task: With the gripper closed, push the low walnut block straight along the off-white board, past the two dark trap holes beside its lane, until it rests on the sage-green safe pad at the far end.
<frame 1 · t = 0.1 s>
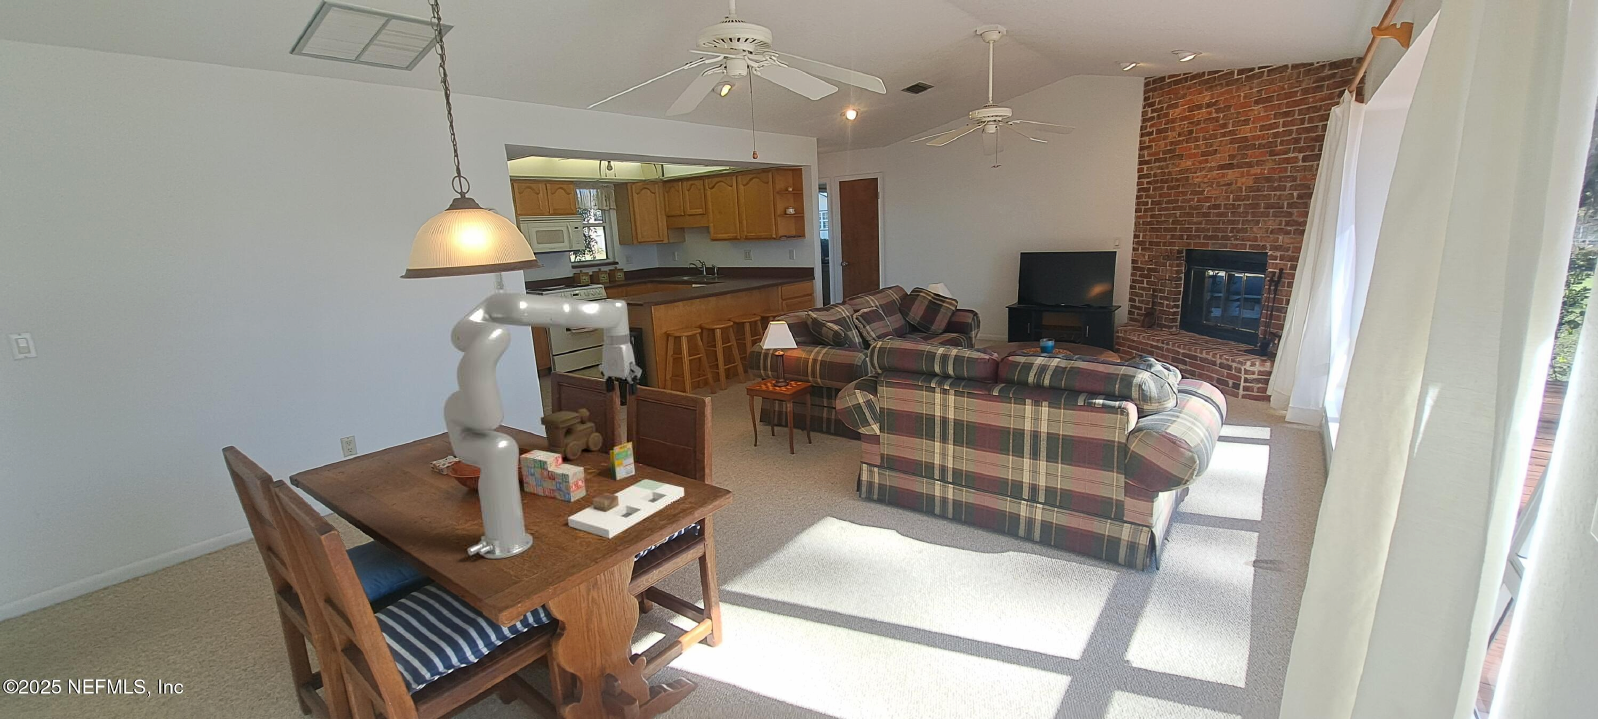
hand: (621, 393, 197), 31 cm above the table, tool pointing down, fingers open, 9 cm apart
stack of blocks: (555, 493, 200), on the table
crayon box: (623, 476, 212), on the table
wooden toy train: (575, 454, 235), on the table
trap board: (629, 509, 186), on the table
walnut block: (606, 507, 182), point 2 cm above the table, touching trap board
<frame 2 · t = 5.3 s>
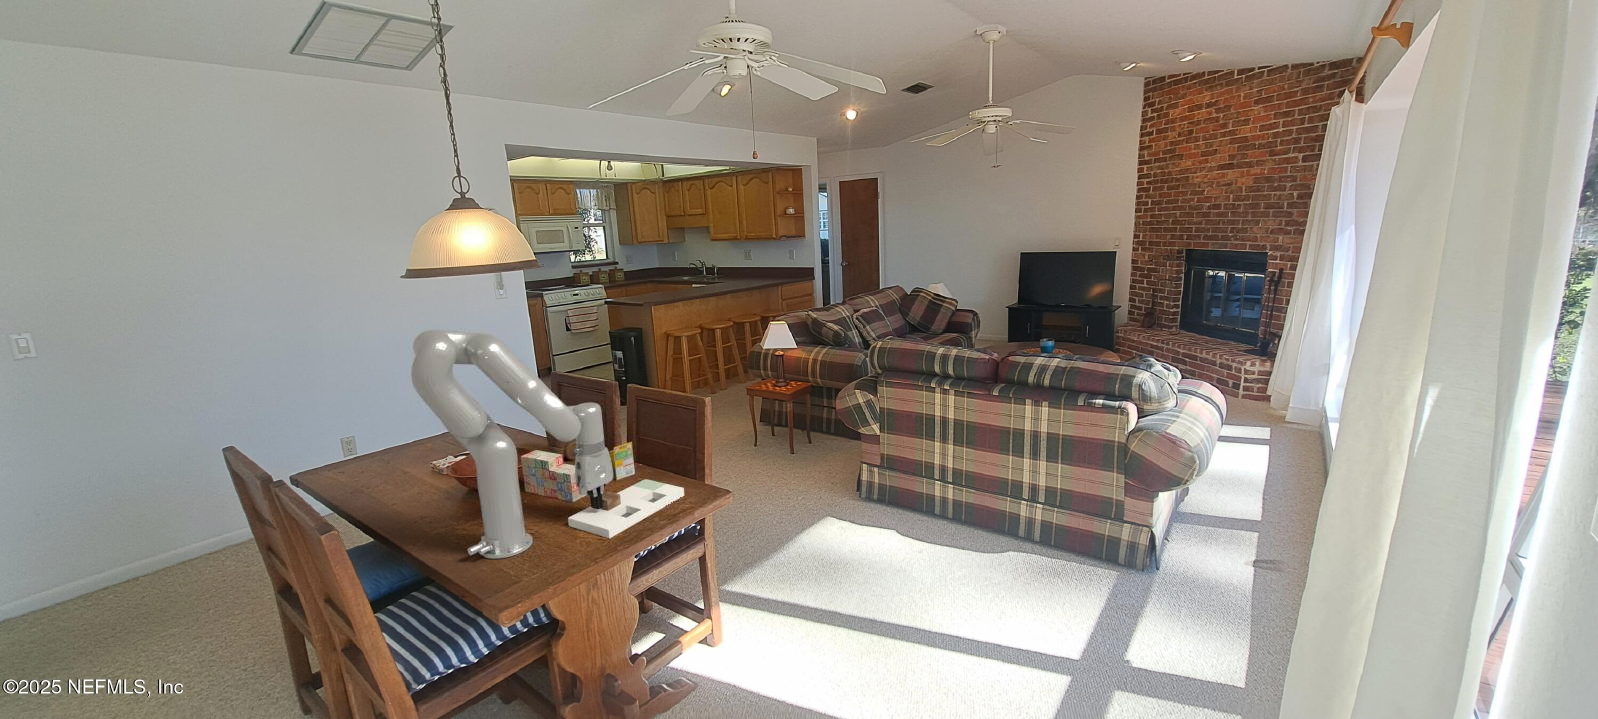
hand: (597, 507, 179), 4 cm above the table, tool pointing down, fingers closed
walnut block: (608, 505, 183), point 3 cm above the table, touching gripper, trap board
everything else where it was.
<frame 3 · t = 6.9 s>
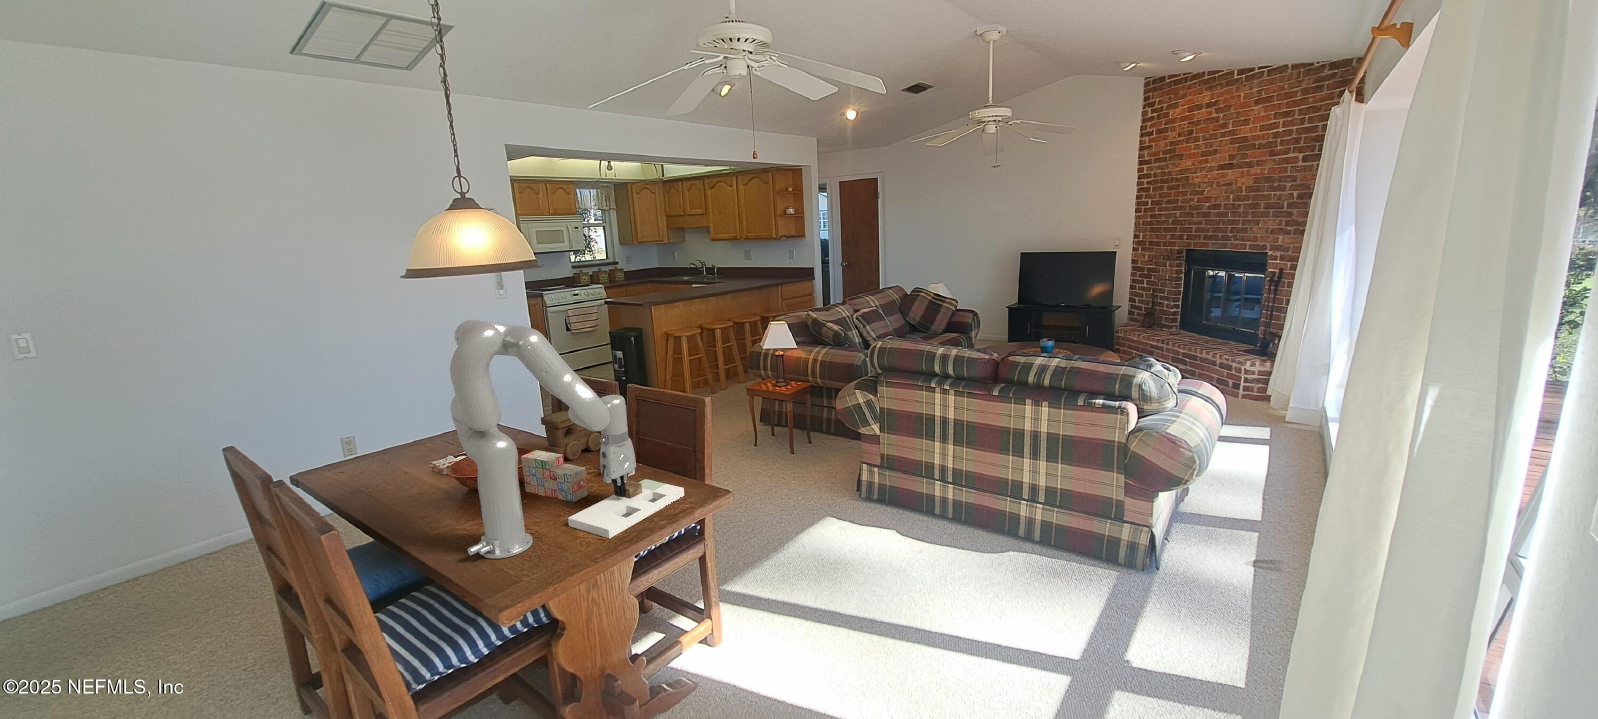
hand: (620, 495, 187), 4 cm above the table, tool pointing down, fingers closed
walnut block: (630, 494, 191), point 3 cm above the table, touching gripper
everything else where it was.
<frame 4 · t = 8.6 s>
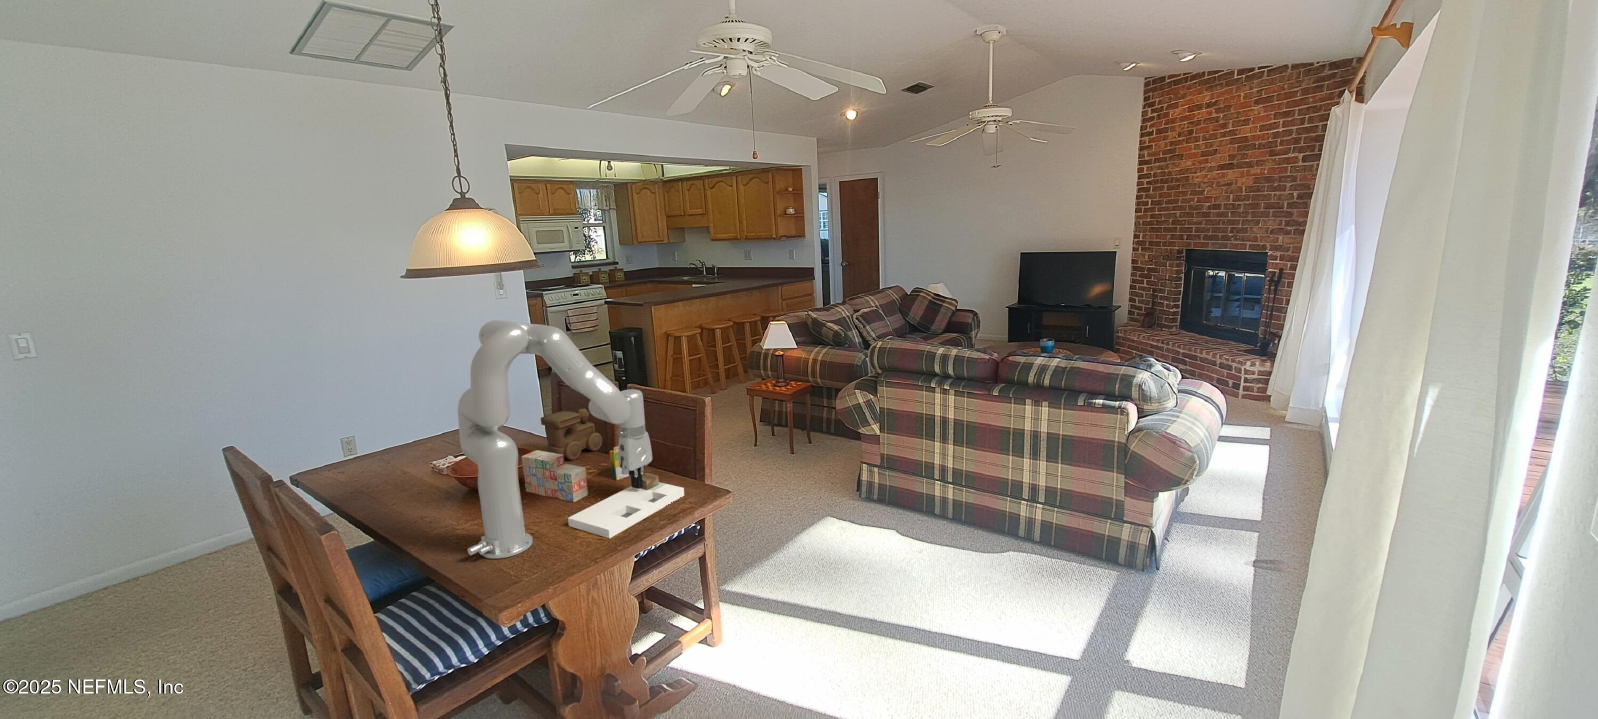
hand: (637, 487, 193), 4 cm above the table, tool pointing down, fingers closed
walnut block: (647, 485, 197), point 2 cm above the table, touching gripper, trap board
everything else where it was.
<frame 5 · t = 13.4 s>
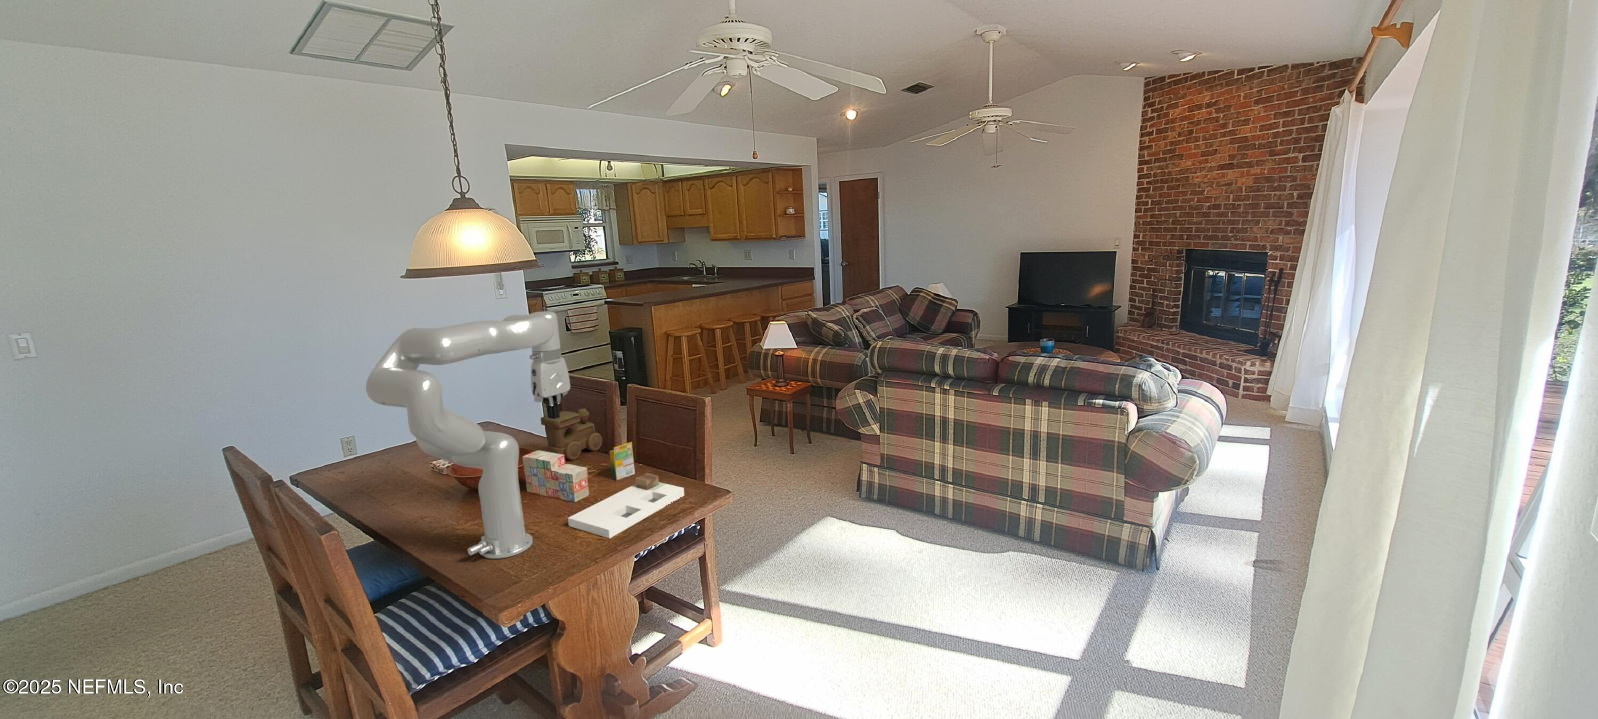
hand: (553, 417, 180), 29 cm above the table, tool pointing down, fingers closed
walnut block: (647, 485, 197), point 2 cm above the table, touching trap board
at the end: walnut block 0.7 cm from the target spot on the trap board, point 2.5 cm above the trap board's base; walnut block touching trap board; walnut block tilted 0° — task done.
